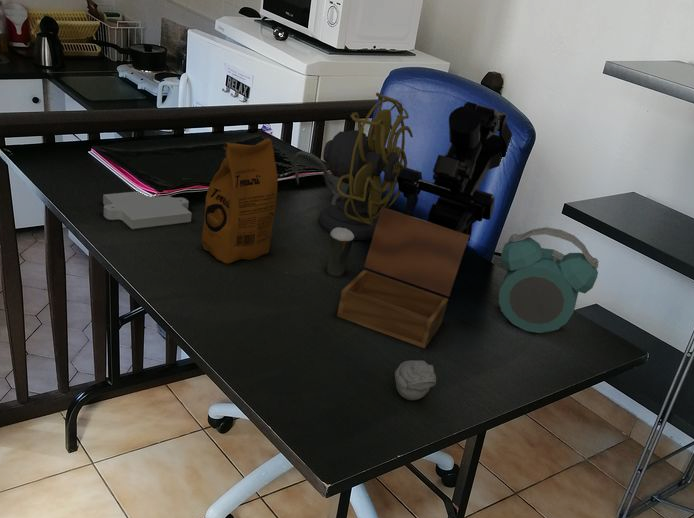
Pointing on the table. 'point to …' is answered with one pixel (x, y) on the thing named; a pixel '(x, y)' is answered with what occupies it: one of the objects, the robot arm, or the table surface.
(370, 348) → the table surface
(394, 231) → the lid
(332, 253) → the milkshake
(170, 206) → the mounting plate
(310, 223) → the table surface
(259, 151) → the coffee package
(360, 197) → the electric fan
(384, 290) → the brown open rectangular box
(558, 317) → the alarm clock
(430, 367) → the grey lumpy ball
